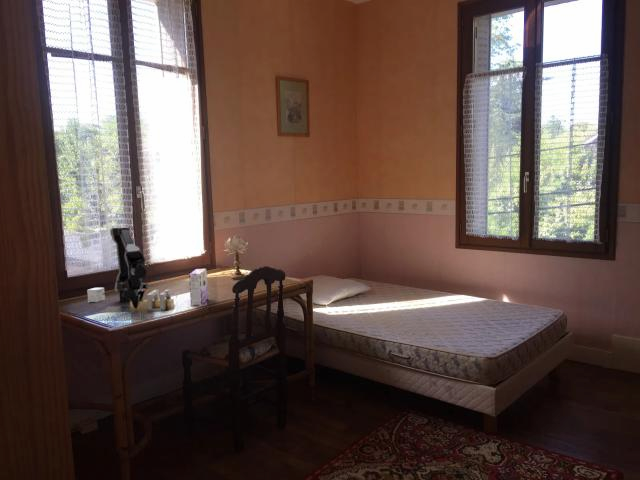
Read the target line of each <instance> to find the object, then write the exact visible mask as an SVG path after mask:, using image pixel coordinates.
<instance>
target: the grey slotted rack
mask: <svg viewBox="0 0 640 480" xmlns="http://www.w3.org/2000/svg"><path fill="white" fill-rule="evenodd" d="M159 292H160V291H159V289H153V290H152V291H151V292H149V293H148V294H146V300H147V305H148V309H147V310H131V309H130V305H122V306H121V305H118V306H116V305H115V306H113V305H111V306H106V307H105V308H104V309H103V308H102V309H101V310H99V311H98V312H97V313H102V314H103V313H106V314H107V313H142V312H143V313H147V312H149V313H150V312H151V313H152V312H169V311H171V309H166V304H165V299H172V293H171V289H170V288H169V289H165V290H164V291H163V292H161V293H160V294H159ZM153 299H160V308H153ZM175 306H176V304H174V307H175Z"/></svg>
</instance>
